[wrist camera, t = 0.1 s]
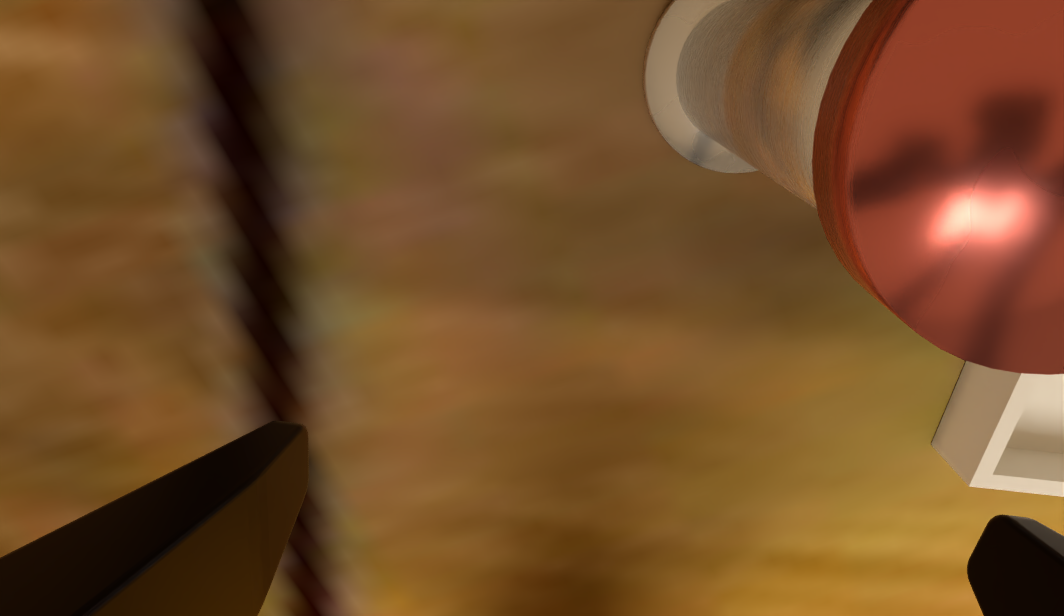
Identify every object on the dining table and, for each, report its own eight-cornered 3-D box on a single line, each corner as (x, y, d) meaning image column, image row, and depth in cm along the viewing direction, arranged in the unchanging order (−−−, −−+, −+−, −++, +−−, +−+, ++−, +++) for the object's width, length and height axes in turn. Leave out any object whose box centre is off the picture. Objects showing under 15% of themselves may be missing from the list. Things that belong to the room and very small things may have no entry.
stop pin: (809, 177, 21) (1256, 430, 8) (628, 157, 21) (753, 375, 8) (866, -27, 19) (1664, -190, 5) (661, -50, 19) (931, -274, 5)
